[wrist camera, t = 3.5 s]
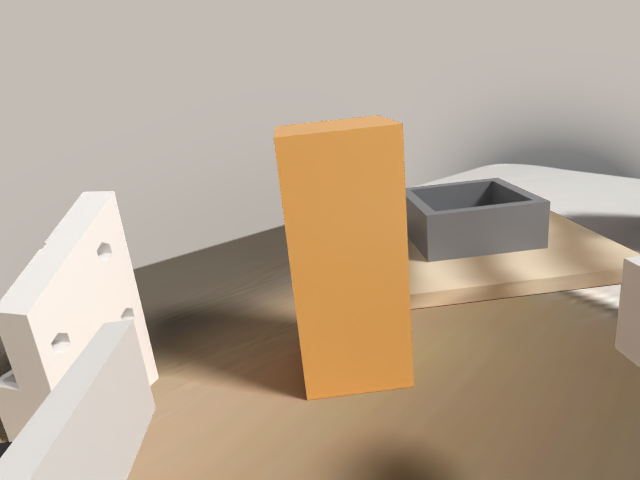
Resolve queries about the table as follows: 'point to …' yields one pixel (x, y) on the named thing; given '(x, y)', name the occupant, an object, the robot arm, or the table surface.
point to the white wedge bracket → (67, 305)
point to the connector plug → (348, 252)
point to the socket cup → (475, 219)
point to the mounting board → (520, 268)
